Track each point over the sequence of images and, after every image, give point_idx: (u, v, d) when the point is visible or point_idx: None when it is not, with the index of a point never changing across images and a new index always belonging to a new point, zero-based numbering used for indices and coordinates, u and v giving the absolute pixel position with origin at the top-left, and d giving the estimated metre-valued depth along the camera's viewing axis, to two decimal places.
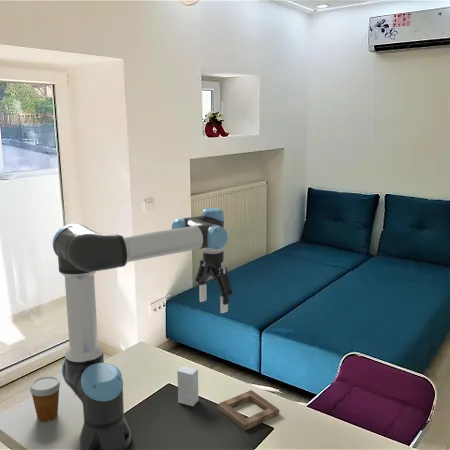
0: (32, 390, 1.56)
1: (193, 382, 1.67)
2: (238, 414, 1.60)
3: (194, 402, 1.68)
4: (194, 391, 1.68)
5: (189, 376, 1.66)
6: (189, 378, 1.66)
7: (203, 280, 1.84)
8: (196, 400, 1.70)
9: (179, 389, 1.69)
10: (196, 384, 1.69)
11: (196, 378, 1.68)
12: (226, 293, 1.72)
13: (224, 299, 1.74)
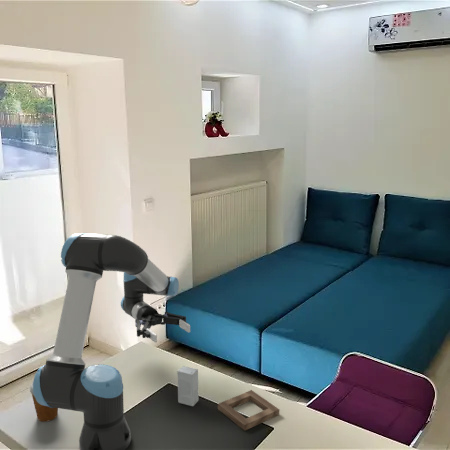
0: (32, 390, 1.56)
1: (193, 382, 1.67)
2: (238, 414, 1.60)
3: (194, 402, 1.68)
4: (194, 391, 1.68)
5: (189, 376, 1.66)
6: (189, 378, 1.66)
7: (147, 328, 1.77)
8: (196, 400, 1.70)
9: (179, 389, 1.69)
10: (196, 384, 1.69)
11: (196, 378, 1.68)
12: (184, 316, 1.86)
13: (184, 321, 1.82)
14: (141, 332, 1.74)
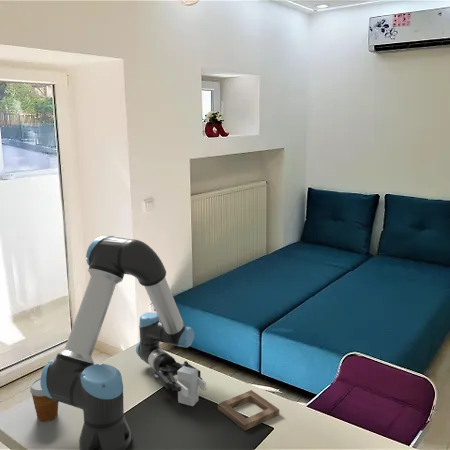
0: (32, 390, 1.56)
1: (193, 382, 1.67)
2: (238, 414, 1.60)
3: (194, 402, 1.68)
4: (194, 391, 1.68)
5: (189, 376, 1.66)
6: (189, 378, 1.66)
7: None
8: (196, 400, 1.70)
9: None
10: (196, 384, 1.69)
11: (196, 378, 1.68)
12: None
13: (198, 377, 1.72)
14: (171, 385, 1.67)
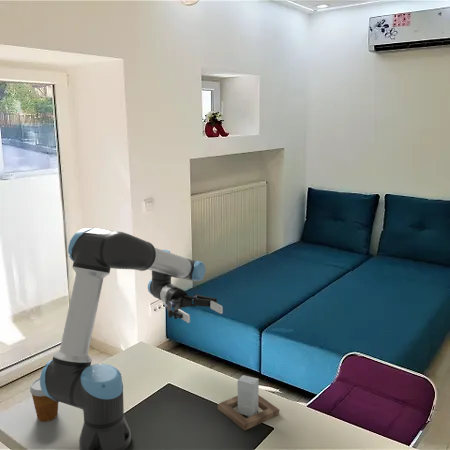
0: (32, 390, 1.56)
1: (254, 392, 1.61)
2: (238, 414, 1.60)
3: (255, 413, 1.62)
4: (255, 401, 1.62)
5: (250, 386, 1.60)
6: (251, 388, 1.60)
7: (178, 309, 1.73)
8: (256, 410, 1.64)
9: (239, 399, 1.63)
10: (257, 394, 1.63)
11: (257, 388, 1.62)
12: (215, 298, 1.81)
13: (215, 303, 1.78)
14: (173, 313, 1.70)
